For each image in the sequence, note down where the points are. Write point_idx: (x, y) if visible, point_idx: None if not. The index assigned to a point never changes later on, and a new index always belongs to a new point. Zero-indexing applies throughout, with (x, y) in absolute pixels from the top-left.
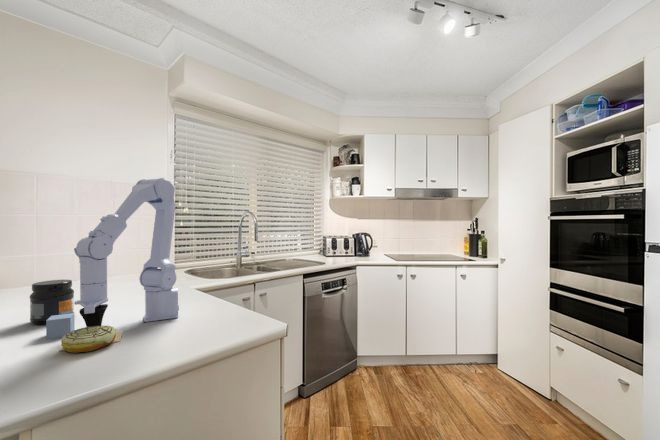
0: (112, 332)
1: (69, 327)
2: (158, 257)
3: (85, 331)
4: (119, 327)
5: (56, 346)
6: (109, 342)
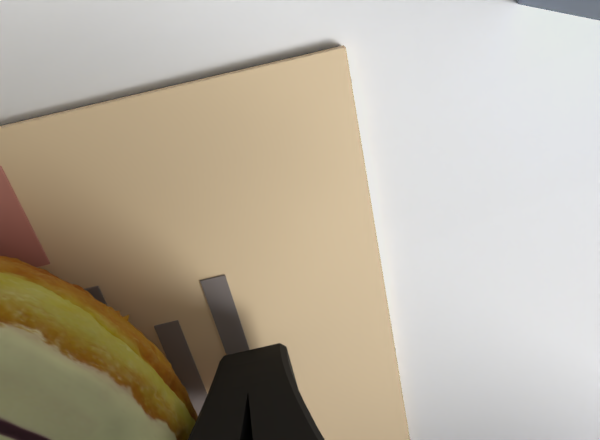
0: None
1: (597, 4)
2: None
3: None
4: (581, 431)
5: (36, 24)
6: None
